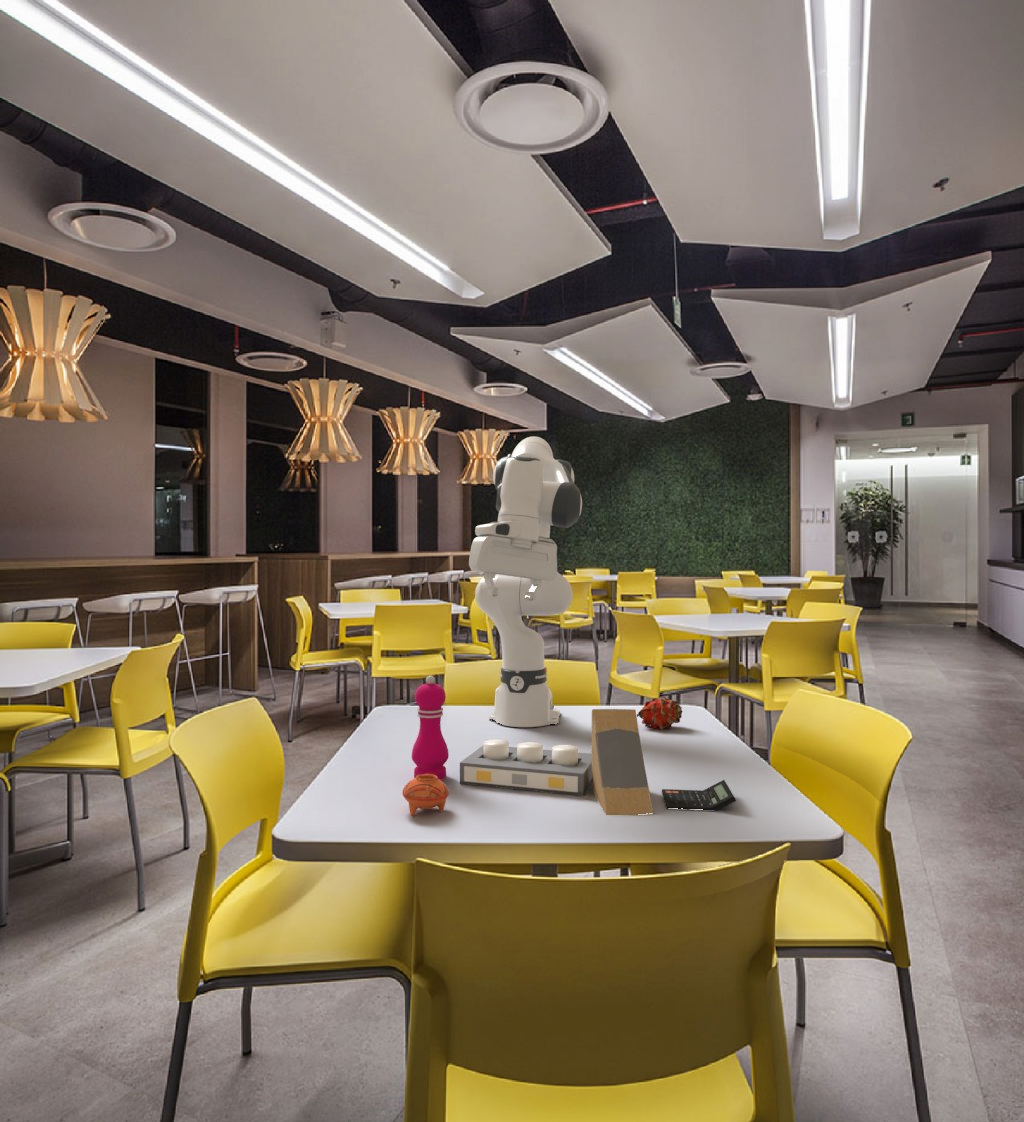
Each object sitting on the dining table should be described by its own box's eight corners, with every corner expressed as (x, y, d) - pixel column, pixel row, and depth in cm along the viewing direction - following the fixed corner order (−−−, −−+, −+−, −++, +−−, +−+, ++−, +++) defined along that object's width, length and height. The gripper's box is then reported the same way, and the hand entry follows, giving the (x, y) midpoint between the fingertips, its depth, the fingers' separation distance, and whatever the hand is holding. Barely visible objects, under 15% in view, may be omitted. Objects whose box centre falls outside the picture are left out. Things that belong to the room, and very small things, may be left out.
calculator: (661, 793, 135) (661, 777, 135) (726, 795, 134) (726, 779, 134) (666, 811, 125) (666, 793, 125) (736, 813, 124) (736, 796, 124)
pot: (392, 806, 126) (401, 766, 127) (434, 810, 129) (443, 772, 130) (405, 819, 119) (415, 777, 119) (450, 824, 122) (458, 783, 122)
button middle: (521, 762, 146) (521, 741, 146) (545, 764, 144) (545, 743, 144) (514, 769, 141) (514, 747, 141) (539, 771, 140) (539, 749, 140)
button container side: (555, 765, 144) (555, 744, 144) (580, 767, 142) (580, 746, 142) (549, 772, 139) (549, 750, 139) (575, 774, 138) (575, 752, 138)
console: (483, 763, 153) (483, 744, 153) (597, 773, 146) (597, 753, 146) (458, 784, 139) (458, 763, 139) (582, 796, 132) (582, 774, 132)
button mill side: (488, 759, 148) (488, 738, 148) (511, 761, 146) (511, 740, 146) (479, 766, 143) (480, 744, 143) (504, 768, 142) (504, 746, 142)
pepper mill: (416, 784, 139) (417, 679, 139) (407, 774, 145) (407, 673, 145) (453, 780, 141) (453, 677, 141) (442, 770, 148) (442, 671, 148)
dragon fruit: (687, 734, 185) (640, 742, 185) (676, 709, 192) (631, 716, 191) (689, 712, 180) (641, 719, 180) (678, 687, 187) (632, 694, 186)
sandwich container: (604, 817, 122) (605, 727, 122) (590, 788, 137) (590, 708, 137) (655, 816, 123) (656, 727, 123) (635, 787, 138) (635, 708, 138)
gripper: (548, 539, 160) (542, 602, 159) (468, 525, 149) (461, 593, 148) (566, 538, 155) (560, 603, 154) (484, 524, 144) (477, 593, 143)
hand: (511, 598), depth 151 cm, fingers open, 8 cm apart
